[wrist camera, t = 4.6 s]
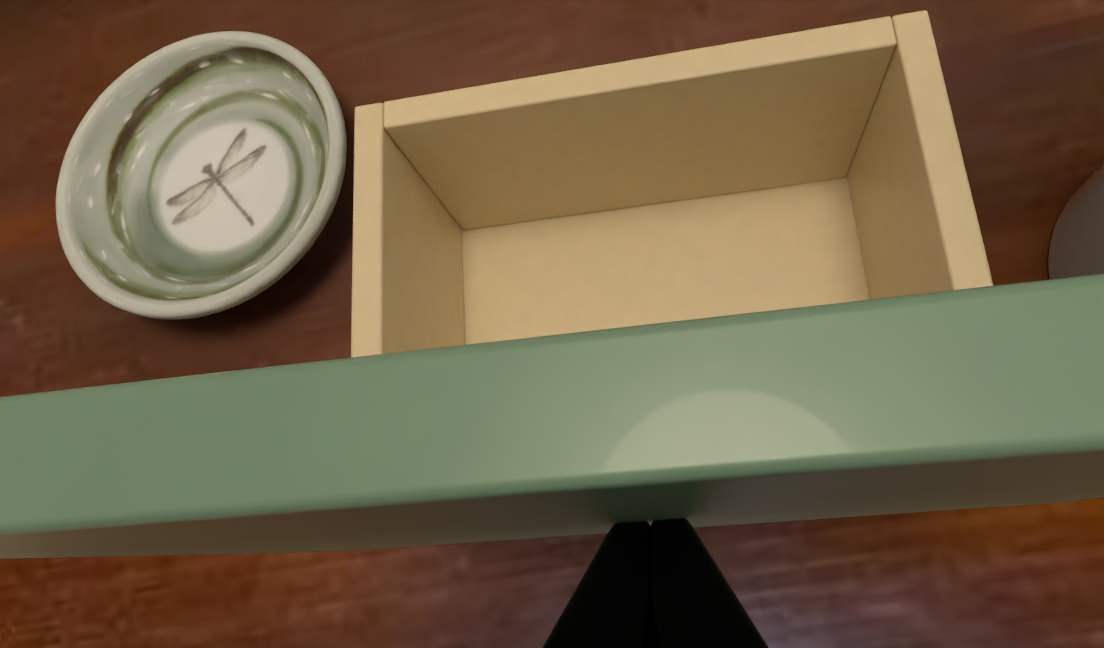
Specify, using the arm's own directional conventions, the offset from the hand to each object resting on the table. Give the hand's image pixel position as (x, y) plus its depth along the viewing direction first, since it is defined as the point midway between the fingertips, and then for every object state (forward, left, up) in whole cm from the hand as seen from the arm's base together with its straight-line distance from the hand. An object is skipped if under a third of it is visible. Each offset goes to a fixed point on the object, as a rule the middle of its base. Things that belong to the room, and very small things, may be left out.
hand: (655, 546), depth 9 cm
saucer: (+17, +5, -12) cm, 22 cm away
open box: (+5, -3, -12) cm, 13 cm away
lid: (+1, -1, 0) cm, 1 cm away
